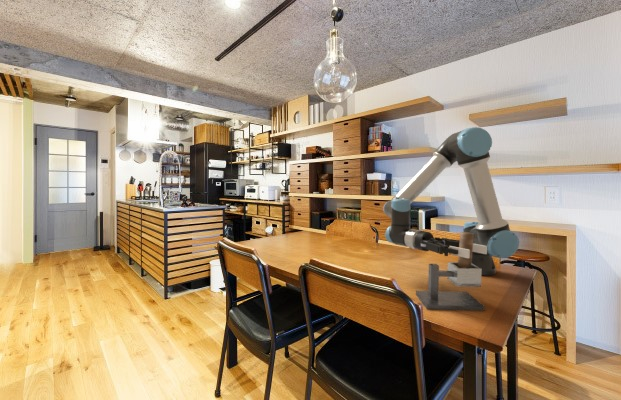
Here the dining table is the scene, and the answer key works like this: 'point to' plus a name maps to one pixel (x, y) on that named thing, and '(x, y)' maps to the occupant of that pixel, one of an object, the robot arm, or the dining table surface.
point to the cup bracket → (452, 299)
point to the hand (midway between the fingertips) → (477, 252)
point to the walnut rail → (465, 243)
